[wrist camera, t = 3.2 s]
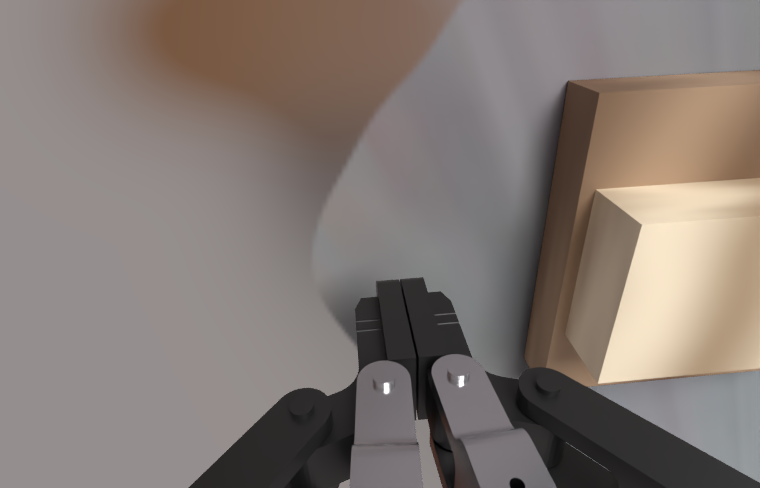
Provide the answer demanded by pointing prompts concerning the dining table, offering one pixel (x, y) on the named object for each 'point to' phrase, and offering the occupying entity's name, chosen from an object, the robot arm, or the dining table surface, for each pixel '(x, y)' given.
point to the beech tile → (669, 281)
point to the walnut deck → (632, 174)
